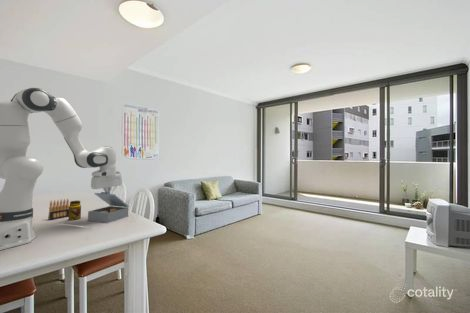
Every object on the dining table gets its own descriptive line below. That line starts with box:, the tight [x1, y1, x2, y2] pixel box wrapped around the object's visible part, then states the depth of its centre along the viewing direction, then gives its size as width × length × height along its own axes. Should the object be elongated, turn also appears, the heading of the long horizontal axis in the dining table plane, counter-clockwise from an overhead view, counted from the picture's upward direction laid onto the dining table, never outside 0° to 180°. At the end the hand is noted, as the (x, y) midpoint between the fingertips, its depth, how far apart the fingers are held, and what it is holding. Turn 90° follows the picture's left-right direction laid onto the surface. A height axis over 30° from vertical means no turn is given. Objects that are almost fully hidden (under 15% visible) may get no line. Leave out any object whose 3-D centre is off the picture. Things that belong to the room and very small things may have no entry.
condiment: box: [67, 200, 82, 221], centre depth 133 cm, size 7×8×12 cm
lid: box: [94, 191, 130, 208], centre depth 138 cm, size 16×15×2 cm
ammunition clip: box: [47, 198, 70, 221], centre depth 137 cm, size 11×2×12 cm, turn 151°
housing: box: [87, 205, 129, 224], centre depth 136 cm, size 16×15×6 cm
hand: (107, 194), depth 135 cm, fingers closed
